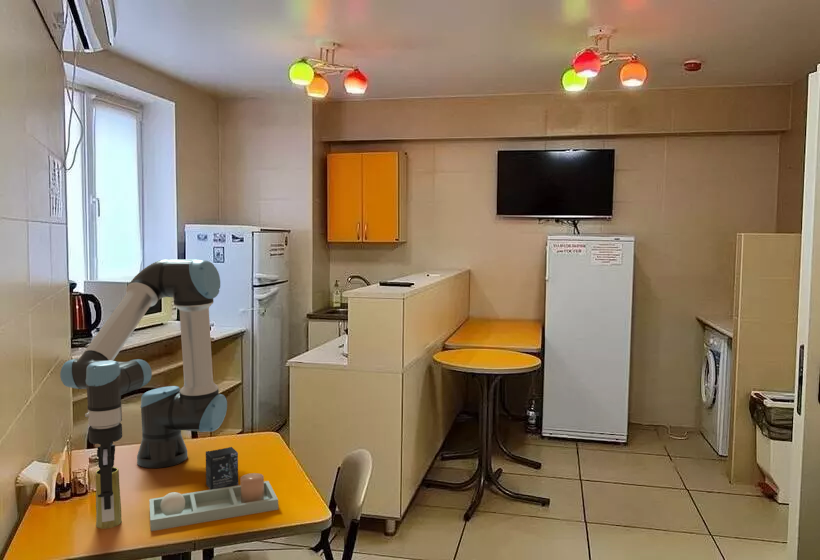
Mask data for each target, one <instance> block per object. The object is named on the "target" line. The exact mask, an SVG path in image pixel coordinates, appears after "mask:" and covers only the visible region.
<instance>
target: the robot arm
mask: <svg viewBox="0 0 820 560" xmlns="http://www.w3.org/2000/svg"><path fill="white" fill-rule="evenodd" d="M220 289H221V277H220V274H219V271H218V269H217V267H216V266H215V265H214V264H213V262H212V261H209V260H204V259H190V258H189V259H172V258H171V259H170V258H168V259H167V258H166V259H165V258H164V259H160V260H158V261H155V262H153V263H151V264H149V265H148V266H146V267H145V268H143V269H142V270H140V271H139V272H138V273H137V274H136V275H135V276H134V277H133V278H132V280H131V281H130V282H129V284H128V285H127V286H126V288H125V292H126V294H125V295H124V296H123V298H122V299H121V301H120V302H119V304H118V305H117V306H116V307H115V309H114V310H113V311H112V313H111V314H110V315H109V317H108V318H107V320H106V321H105V322H104V324H103V325H102V327H101V328H100V330H99V331H98V332H97V334H96V335H95V336H94V338H93V339H92V340H91V342H90V343H89V345H88V346H87V347H86V348H85V350H84V352H83V353H82V354H81V356H80V357H79V358H73V359H68V360H67V361H65V362H64V364H62V367H61V369H60V372H59V374H60V375H59V376H60V381H61V382H62V384H63V385H64V386H65V387H66V388H71V389H78V390H83V389H84V390H86V396H87V397H86V398H87V412H86V413H84V416H85V417H86V418H87V421H88V422H87V424H88V426H89V427H88V428H87V429H88V441H89V443H90V444H94V445H96V444H97V445H100V446H97V450H96V456H97V459H98V460H97V463H98V464H97V465H98V468H99V469H100V483H101V494H100V495H98V497H101V507H102V522H107V521H113V520H114V496H113V491H112V467H114V466H115V457H116V456H115V454H116V444H114V442H115V443H116V442H117V441H120V440H121V439H122V437H123V423H122V421H123V413H122V412H123V411H122V410H123V409H122V395H125V394H127V393H131V392H132V391H135V390H139V389H141V388H142V387H144V386H146V385H147V384H148V383H150V381H151V379H152V376H153V375H152V374H153V372H152V367H151V366H150V364H149V363H148V362H147V361H146V360H143V359H140V358H137V359H131V360H128V361H116V360H115V359H116V357H118V354H119V353H120V352H121V350H122V348H123V347H124V346H125V344H126V343H127V341H128V340H129V338H130V337H131V336H132V334H133V333H134V331H135V329H136V328H137V326H138V325H139V323H140V322H141V320H142V319H143V317H144V316H145V314H146V313H147V311H148V310H149V309H150V308H151V307H154V306H156V304H157V303H158V301H159V300H162V299H163V298H172V299H173V306H174V307H176V308H177V309H178V311H179V323H180V325H179V326H180V336H181V337H180V338H181V352H182V353H181V355H182V367H183V383H184V384H183V386H182V387H181V388H180V386H177V385H170V386H169V385H168V386H162V387H158V388H153V389H151V390H148V391H146V392H144V393H143V394H142V395H141V398H140V413H141V434H142V436H141V441H140V444H139V448H138V453H137V454H136V463H137V465H138V466H140V467H142V468H145V469H146V468H147V469H161V468H167V467H172V466H176V465H179V464H182V463H183V462H184V461H186V460H187V459H188V447H187V445H186V443H185V440H184V438H183V435H182V431H190V432H199V433H204V432H209V433H210V432H215V431H217V430H218V429H219V428H220V427H221V426H222V425H223V422H224V420H225V417H226V415H227V409H228V401H227V398H226V396H225V395H224V394H223V393H222V394H221V393H219V391H220V389H219V385H217V384H216V383H215V382H214V374H213V359H212V342H211V340H212V339H211V326H210V325H211V323H210V307H211V306H212V305H213V304H214V298H216V297H217V296H218V295H219V294H220Z"/></svg>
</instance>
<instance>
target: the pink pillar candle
mask: <svg viewBox="0 0 820 560" xmlns="http://www.w3.org/2000/svg"><path fill="white" fill-rule="evenodd" d="M264 479H265V477H264V475H263V474H262V473H256V472H253V473H247V474H243V475H242V476H240V485H241V503H247V502H253V501H259V500H264V481H265V480H264Z"/></svg>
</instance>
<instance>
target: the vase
mask: <svg viewBox="0 0 820 560" xmlns="http://www.w3.org/2000/svg"><path fill="white" fill-rule="evenodd" d="M94 475H95V514H96V515H95V517H96V518H95V520H96V521H95V527H96V528H97V529H102V530H103V529H105V530H106V529H108V530H109V529H111V528H115V527H118V526H119V525H121V523H123V521H122V502H121V490H120V489H121V488H120V472H119V468H118V467H115V466H113V467H112V491H113V496H114V520H113V521H107V522H102V507H101V497H98V495H100V494H101V483H100V468H99V469H97V470H96V471H95V474H94Z"/></svg>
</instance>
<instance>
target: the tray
mask: <svg viewBox="0 0 820 560" xmlns="http://www.w3.org/2000/svg"><path fill="white" fill-rule="evenodd" d="M180 494H181V495H182V496H183V497H184V499H185V508H184V510H183V511H182V513H180V514H174V515H168V516H166V515H164V514H163V512H162V511H161V507H160V505H161V501H162V499H163V498H164V496H161V497H154V498H149V522H150V523H149V525H150V532H154V531H161V530H167V529H173V528H178V527H184V526H190V525H195V524H201V523H207V522H213V521H218V520H225V519H230V518H237V517H243V516H247V515H248V516H249V515H254V514H260V513H266V512H272V511H273V512H274V511H278V510H279V499H278V497H277V495H276V493H275V491H274V489H273V486H272V485H271V483H270V481H269V480H264V500H259V501H253V502H247V503H241V484H238V485H235V486H231V487H225V488H218V489H212V490H210V489H206V490H200V491H199V490H198V491H194V492H193V491H192V492H185V493H180Z"/></svg>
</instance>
